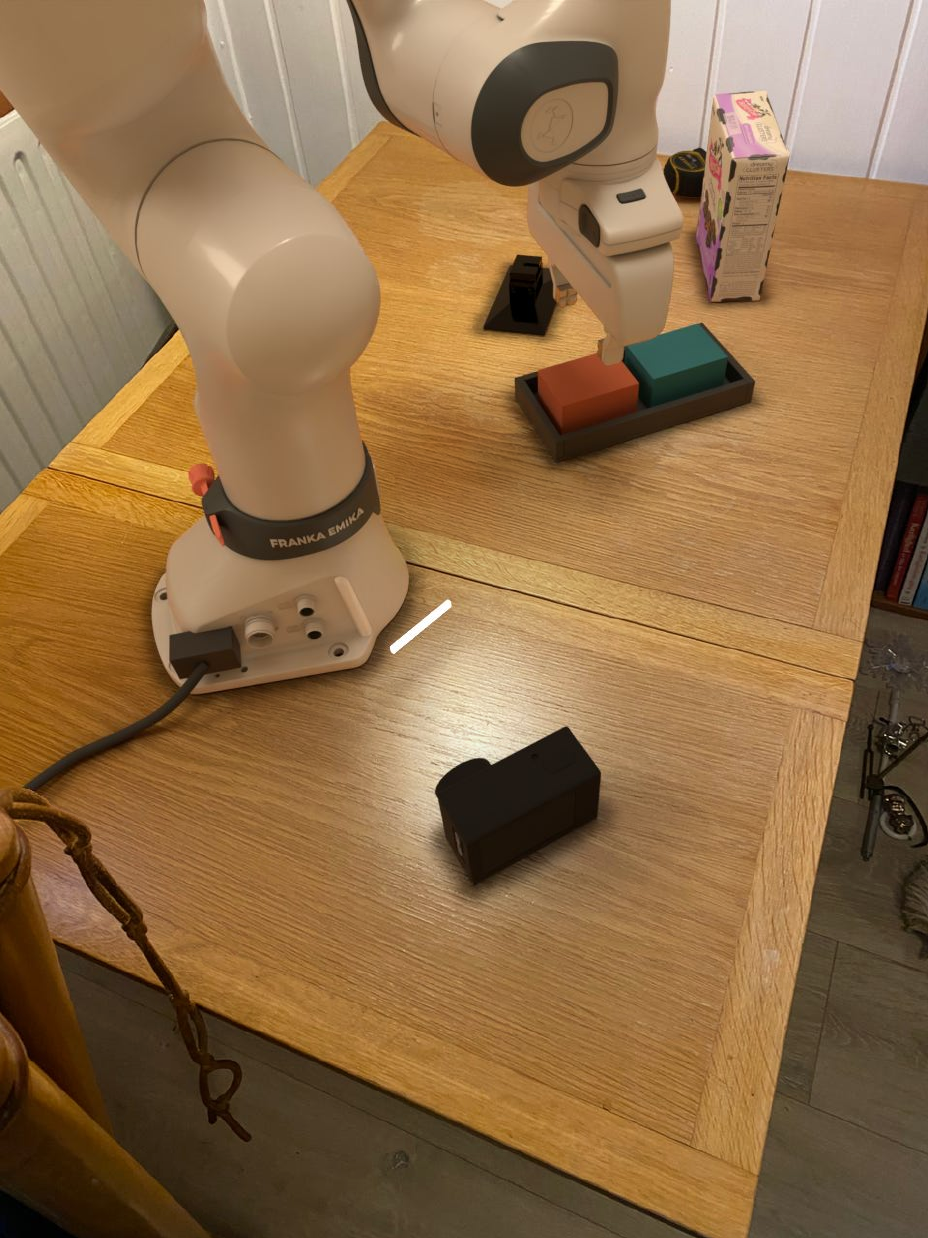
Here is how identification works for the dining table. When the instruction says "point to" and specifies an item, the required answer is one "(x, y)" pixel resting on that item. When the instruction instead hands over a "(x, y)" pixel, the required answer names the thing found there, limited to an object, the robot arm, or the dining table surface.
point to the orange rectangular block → (586, 393)
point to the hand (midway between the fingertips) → (586, 330)
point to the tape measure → (686, 173)
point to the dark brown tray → (640, 422)
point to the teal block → (676, 365)
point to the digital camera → (517, 802)
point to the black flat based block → (523, 299)
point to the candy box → (740, 195)
